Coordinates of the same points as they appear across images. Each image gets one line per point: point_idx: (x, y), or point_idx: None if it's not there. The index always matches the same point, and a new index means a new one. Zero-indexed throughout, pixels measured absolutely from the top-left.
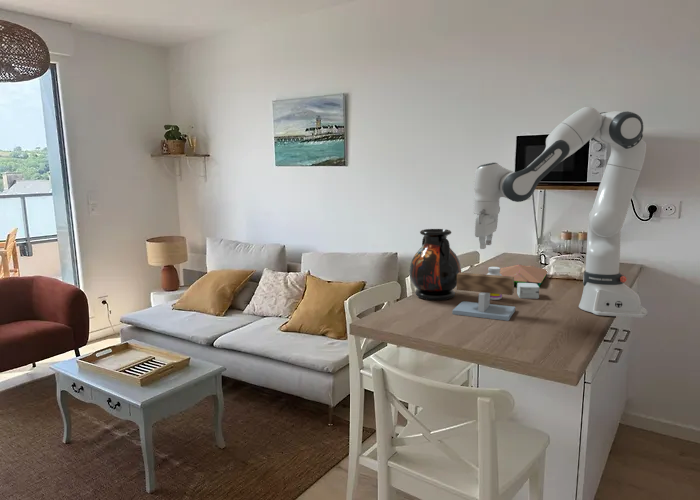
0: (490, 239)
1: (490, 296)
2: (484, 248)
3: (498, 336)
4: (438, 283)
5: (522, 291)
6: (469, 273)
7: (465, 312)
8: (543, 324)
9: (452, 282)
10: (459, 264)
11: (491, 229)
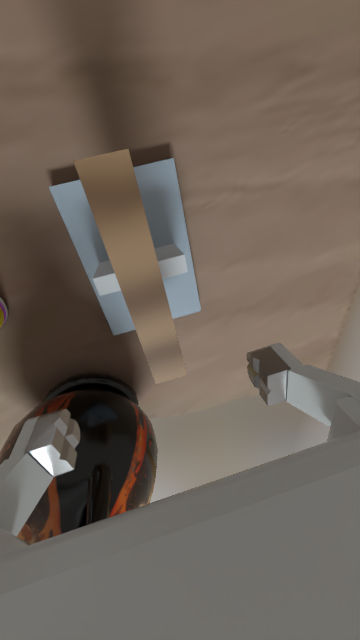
0: (25, 466)
1: (2, 309)
2: (278, 344)
3: (311, 126)
4: (136, 408)
5: None
6: (149, 355)
7: (195, 281)
8: (136, 13)
9: (98, 396)
10: None
11: (160, 612)
